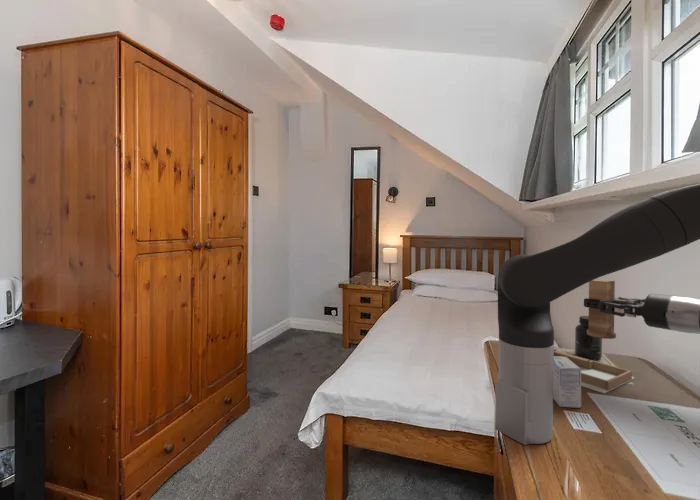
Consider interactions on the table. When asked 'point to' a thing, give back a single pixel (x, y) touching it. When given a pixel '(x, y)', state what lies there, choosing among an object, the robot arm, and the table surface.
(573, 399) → the medicine box
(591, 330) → the walnut keyhole peg
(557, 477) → the table surface
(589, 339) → the supplement bottle
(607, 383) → the keyhole board
